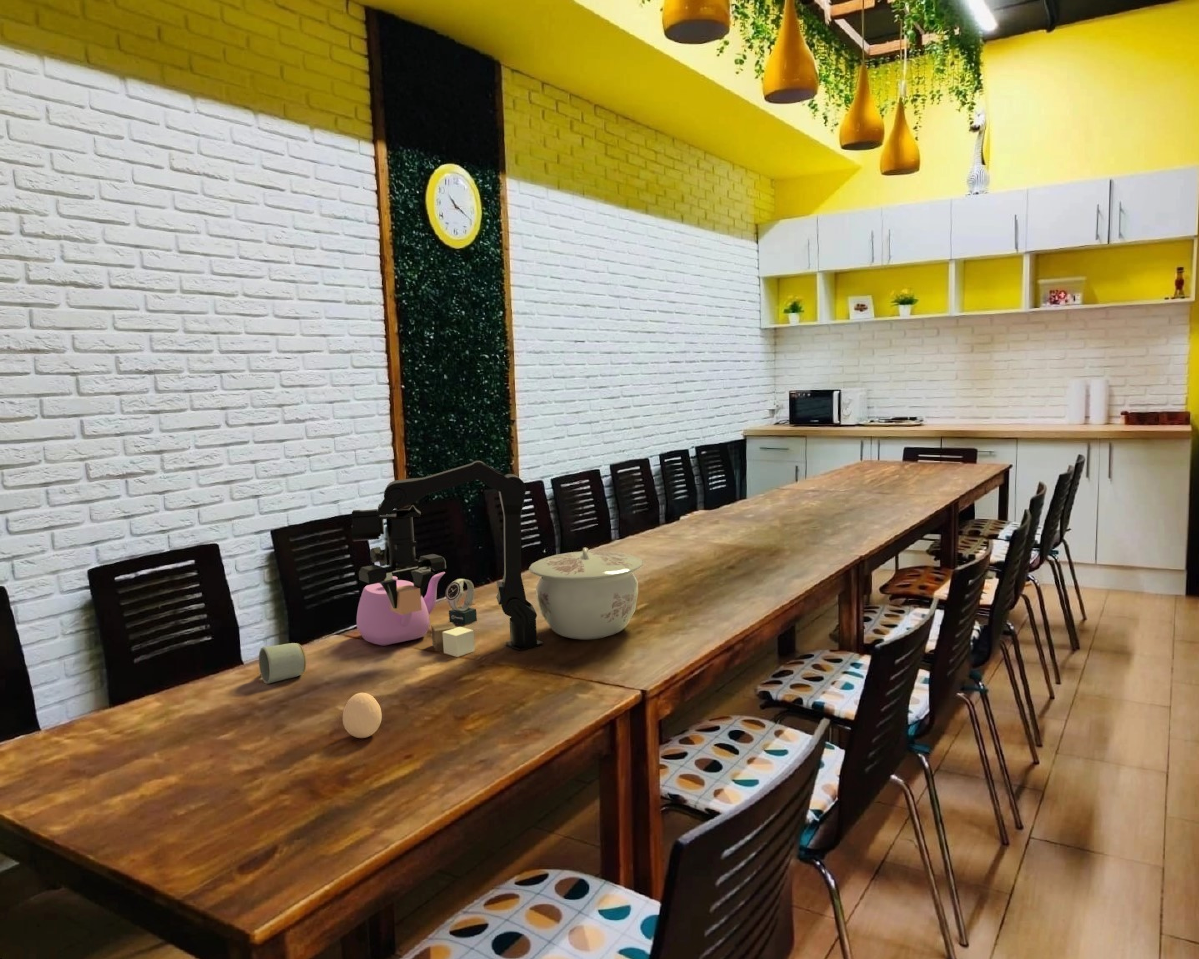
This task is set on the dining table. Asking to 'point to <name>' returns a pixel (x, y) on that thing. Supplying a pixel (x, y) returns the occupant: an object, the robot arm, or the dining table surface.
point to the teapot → (393, 615)
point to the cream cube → (458, 641)
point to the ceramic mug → (281, 662)
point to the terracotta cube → (407, 600)
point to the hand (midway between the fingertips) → (406, 605)
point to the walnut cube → (440, 634)
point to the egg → (362, 715)
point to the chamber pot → (587, 592)
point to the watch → (464, 613)
